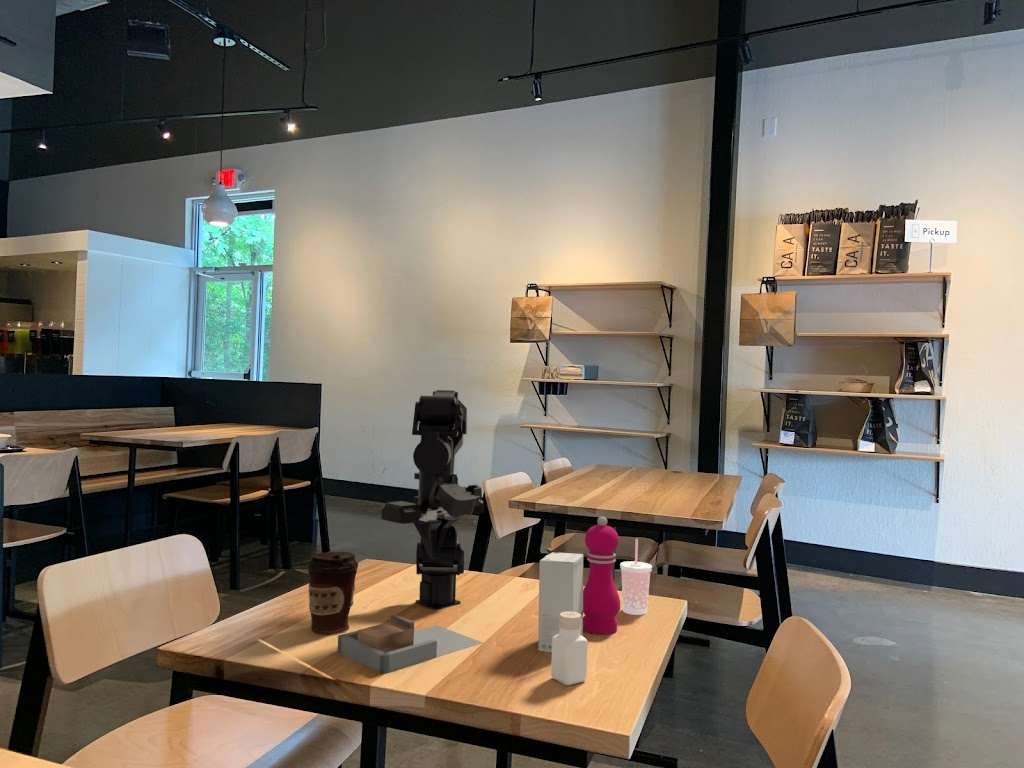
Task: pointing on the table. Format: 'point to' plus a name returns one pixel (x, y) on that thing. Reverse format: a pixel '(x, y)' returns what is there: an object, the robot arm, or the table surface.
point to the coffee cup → (331, 591)
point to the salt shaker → (569, 651)
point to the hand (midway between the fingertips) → (433, 558)
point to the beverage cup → (635, 585)
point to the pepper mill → (601, 581)
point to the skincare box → (558, 593)
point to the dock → (405, 649)
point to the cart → (389, 634)
